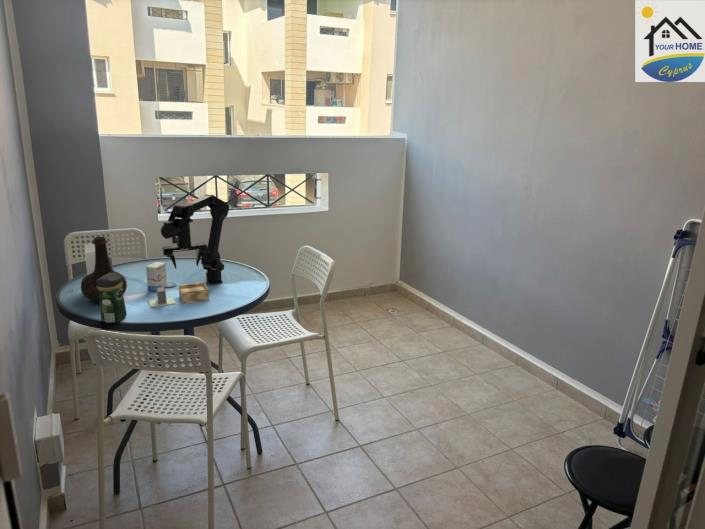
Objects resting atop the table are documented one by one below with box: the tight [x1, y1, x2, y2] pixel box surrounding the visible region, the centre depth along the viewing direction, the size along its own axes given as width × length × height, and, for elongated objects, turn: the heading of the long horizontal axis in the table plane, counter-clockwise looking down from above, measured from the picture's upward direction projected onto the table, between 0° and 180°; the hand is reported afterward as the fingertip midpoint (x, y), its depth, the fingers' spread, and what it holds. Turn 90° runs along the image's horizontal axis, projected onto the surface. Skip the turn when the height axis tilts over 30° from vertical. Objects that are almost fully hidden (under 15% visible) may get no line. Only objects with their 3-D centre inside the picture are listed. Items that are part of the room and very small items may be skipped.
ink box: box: [145, 261, 168, 293], centre depth 237 cm, size 9×5×12 cm, turn 168°
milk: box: [83, 243, 95, 275], centre depth 231 cm, size 6×6×22 cm
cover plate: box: [148, 287, 177, 309], centre depth 221 cm, size 10×8×6 cm
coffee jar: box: [96, 272, 128, 324], centre depth 202 cm, size 10×8×19 cm
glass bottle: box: [80, 236, 128, 304], centre depth 220 cm, size 18×18×28 cm
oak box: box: [178, 282, 210, 305], centre depth 227 cm, size 11×10×5 cm
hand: (186, 267), depth 231 cm, fingers open, 9 cm apart
